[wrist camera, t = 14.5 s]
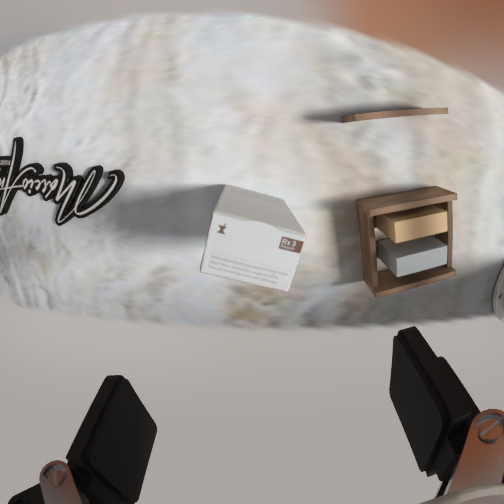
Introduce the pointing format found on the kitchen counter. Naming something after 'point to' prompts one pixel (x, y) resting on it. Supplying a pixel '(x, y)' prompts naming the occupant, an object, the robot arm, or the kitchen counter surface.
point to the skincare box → (253, 239)
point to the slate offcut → (412, 254)
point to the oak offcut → (413, 223)
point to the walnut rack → (370, 207)
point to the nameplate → (55, 185)
